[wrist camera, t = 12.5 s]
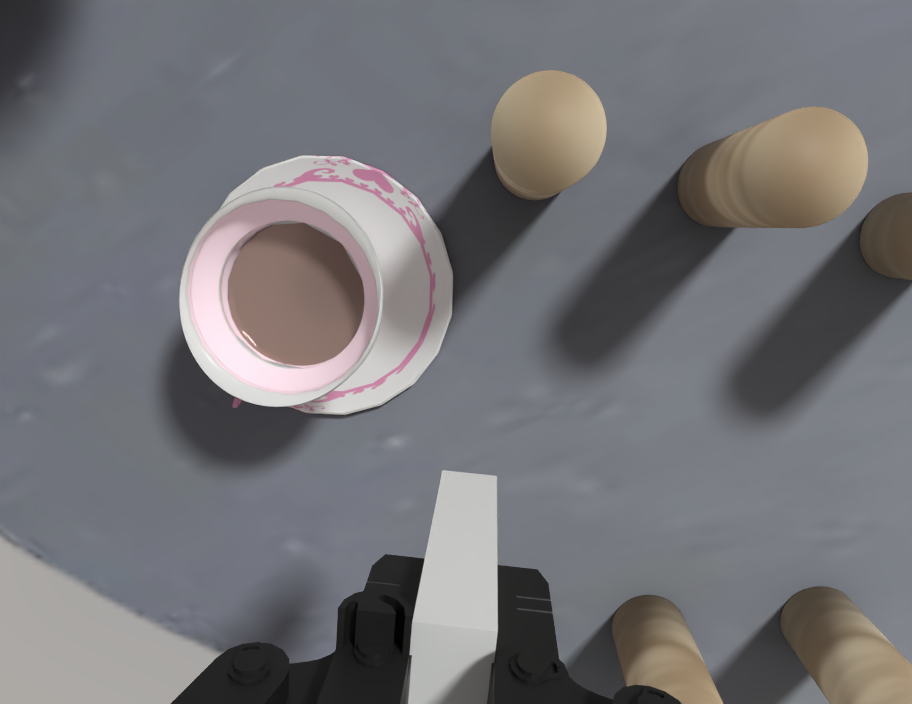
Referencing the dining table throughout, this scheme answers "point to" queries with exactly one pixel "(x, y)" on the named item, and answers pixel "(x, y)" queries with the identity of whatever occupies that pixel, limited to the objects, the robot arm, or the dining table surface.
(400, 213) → the teacup
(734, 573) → the dining table surface
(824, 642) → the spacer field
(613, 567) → the dining table surface
